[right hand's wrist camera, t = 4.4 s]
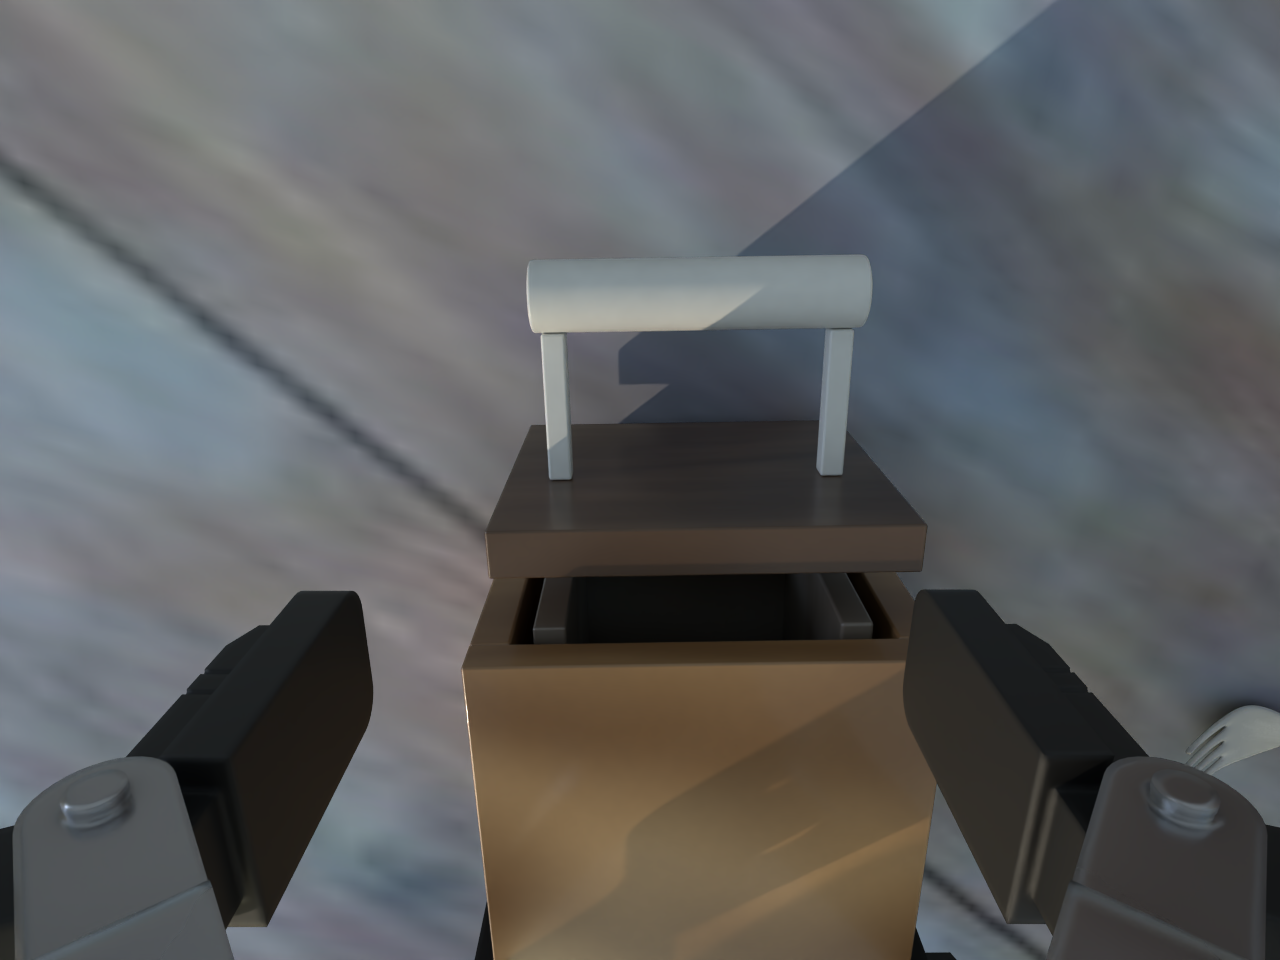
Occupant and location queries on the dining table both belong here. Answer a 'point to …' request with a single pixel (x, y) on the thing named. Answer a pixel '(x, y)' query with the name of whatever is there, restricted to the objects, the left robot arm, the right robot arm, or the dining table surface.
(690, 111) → the dining table surface
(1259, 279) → the dining table surface
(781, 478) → the drawer
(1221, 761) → the fork
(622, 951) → the cabinet
